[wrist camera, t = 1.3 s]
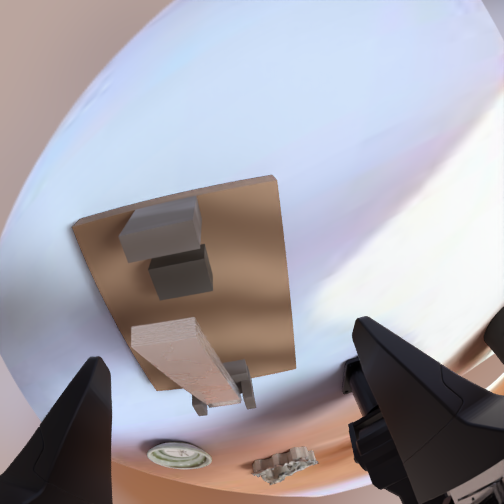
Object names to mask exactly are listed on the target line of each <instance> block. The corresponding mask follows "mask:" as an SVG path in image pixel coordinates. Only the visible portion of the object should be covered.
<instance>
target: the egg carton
mask: <svg viewBox="0 0 504 504" xmlns="http://www.w3.org/2000/svg"><path fill="white" fill-rule="evenodd" d="M312 464H313V465H315V464H318V461H316V459H315V456H314V451H312V450H311V451H307V447H305V446H304V447H294V448H291V449H290V451H289V452H287V453H284V454H274V455H272V457H271V458H269V459H265V460H261V459H258V460H255V463H253V471H254V473H251V474H253V475H254V476H255V475H256V476H257V477H260V475H261V477H262V479H263V480H264V481H266V482H268V483H270V485H272V484H276V483H278V482H281V481H283V480H284V479H285V477H286V476H291V475H292V474H293V473H295V472H297V471H300V470H303V469H305V468H307V467H308V466H311V465H312Z"/></svg>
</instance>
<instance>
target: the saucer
mask: <svg viewBox="0 0 504 504" xmlns="http://www.w3.org/2000/svg"><path fill="white" fill-rule="evenodd" d="M147 457H148V458H149V459H150V460H151V461H152V462H154V463H156V464H159V465H161V466H164V467H169V468H174V469H197V468H202V467H205V466H207V465H209V464H210V463H211V462H212V458H211V456H210V455H209V454H207V453H206V452H205V451H203V450H202V449H200V448H198V447H196V446H194V445H192V444H189V443H185V442H167V443H164V444H160V445H157V446H155V447H153V448H152V449H150V450H149V451H148V452H147Z"/></svg>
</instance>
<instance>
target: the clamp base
mask: <svg viewBox="0 0 504 504" xmlns="http://www.w3.org/2000/svg"><path fill="white" fill-rule="evenodd" d="M72 228H73V231H74V234H75V236H76V239H77V241H78V244H79V246H80V249H81V251H82V253H83V256H84V258H85V261H86V263H87V265H88V267H89V270H90V272H91V274H92V276H93V279H94V281H95V283H96V285H97V287H98V289H99V291H100V293H101V295H102V297H103V299H104V301H105V303H106V305H107V307H108V309H109V311H110V313H111V315H112V317H113V319H114V321H115V323H116V325H117V326H118V328H119V330H120V332H121V334H122V335H123V337H124V339H125V341H126V343H127V344H128V346H129V348H130V349H131V351H132V353H133V354H134V356H135V358H136V359H137V361H138V363H139V364H140V366H141V368H142V369H143V371H144V372H145V374H146V375H147V377H148V379H149V380H150V382H151V383H152V385H153V386H154V388H155V389H156V391H162V390H172V389H182V387H181V386H180V385H178V384H177V383H175V382H174V381H173V380H171V379H170V378H169V377H168V376H166V375H165V374H164V373H162V372H161V371H160V370H159V369H157V368H156V367H155V366H153V365H152V364H151V363H150V362H149V361H147V360H146V359H145V358H144V357H142V356H141V355H140V354H139V353H138V352H136V351H135V350H134V349H133V348H132V347H131V327H133V326H140V325H147V324H153V323H160V322H166V321H172V320H179V319H185V318H191V317H195V318H196V320H197V322H198V324H199V325H200V327H201V329H202V330H203V332H204V334H205V336H206V337H207V339H208V341H209V342H210V344H211V346H212V347H213V349H214V351H215V352H216V354H217V355H218V357H219V359H220V360H221V362H222V363H223V365H224V367H225V368H226V370H227V371H228V373H229V374H230V376H231V378H232V379H233V381H234V382H235V384H236V385H237V387H238V388H239V390H240V394H241V393H243V399H244V402H245V404H246V407H247V409H252V408H256V404H255V398H254V392H253V386H252V380H251V378H255V377H260V376H265V375H270V374H275V373H279V372H284V371H288V370H293V369H296V358H295V345H294V333H293V322H292V311H291V300H290V290H289V280H288V270H287V260H286V251H285V242H284V233H283V225H282V216H281V208H280V200H279V192H278V184H277V180H276V179H275V177H274V176H273V175H268V176H262V177H256V178H251V179H245V180H240V181H235V182H229V183H224V184H219V185H214V186H209V187H204V188H200V189H195V190H190V191H186V192H181V193H177V194H172V195H168V196H164V197H160V198H155V199H151V200H147V201H143V202H139V203H135V204H131V205H128V206H124V207H120V208H116V209H113V210H109V211H105V212H102V213H98V214H95V215H91V216H88V217H85V218H81V219H79V220H78V221H77V222H76V223H75V225H74V226H73V227H72ZM192 406H193V407H194V409H195V411H196V412H197V414H198V415H199V416H204V415H207V404H205V403H204V402H202V401H201V400H199V399H198V398H196V397H195V396H193V395H192Z"/></svg>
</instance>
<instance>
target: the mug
mask: <svg viewBox="0 0 504 504" xmlns="http://www.w3.org/2000/svg"><path fill="white" fill-rule="evenodd" d="M484 341H485V342H486V343H487V344H488V346H489V347H490V348H491V349H492V351H493V352H494V353H495V354H496V355H497V357H498V358H499V359H500V361H501V362H502V363H503V364H504V307H503V308H502V309H501V310H500V311H499V312H498V313H497V314H496V315H495V317H494V318H493V319H492V321H491V322H490V324H489V326H488V327H487V329H486V332H485V335H484Z"/></svg>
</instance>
